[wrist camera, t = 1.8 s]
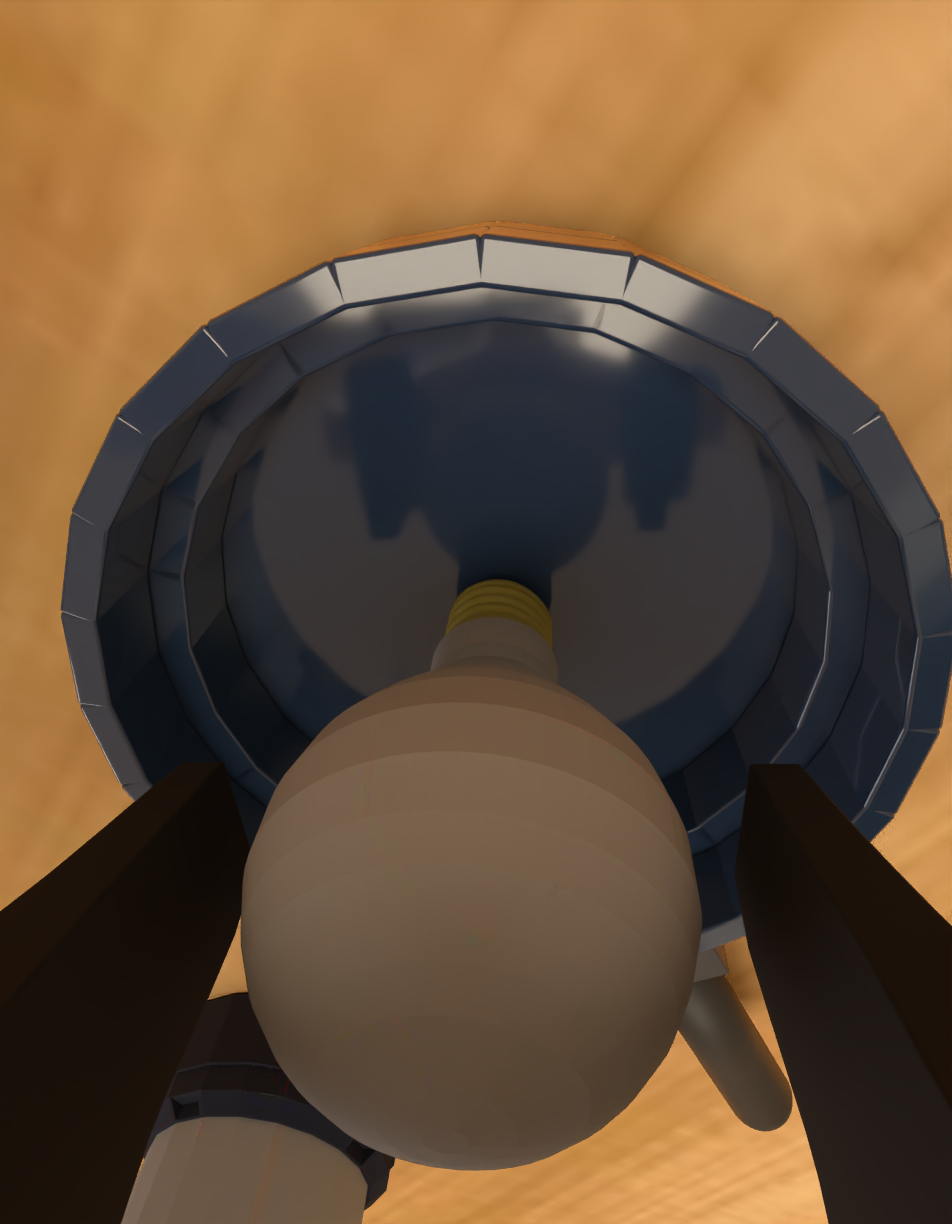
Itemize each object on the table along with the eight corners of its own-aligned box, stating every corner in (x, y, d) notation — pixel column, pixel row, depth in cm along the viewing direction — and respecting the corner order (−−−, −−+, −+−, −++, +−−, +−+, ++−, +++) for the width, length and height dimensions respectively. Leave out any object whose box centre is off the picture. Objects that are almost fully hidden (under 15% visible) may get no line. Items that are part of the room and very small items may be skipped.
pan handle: (582, 883, 17) (585, 946, 16) (683, 853, 16) (695, 916, 15) (718, 1085, 20) (730, 1151, 19) (805, 1069, 20) (825, 1135, 18)
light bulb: (484, 425, 14) (377, 841, 5) (690, 599, 15) (887, 1157, 6) (321, 616, 16) (58, 1126, 7) (514, 751, 17) (483, 1312, 9)
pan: (457, 912, 21) (439, 1056, 17) (36, 539, 16) (-105, 637, 12) (977, 664, 16) (1100, 799, 12) (587, -3, 11) (606, -91, 7)
